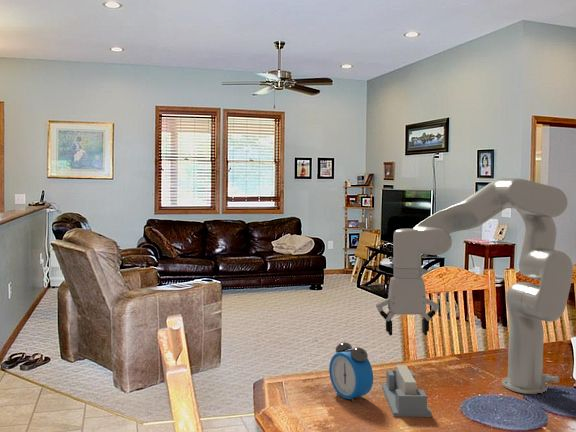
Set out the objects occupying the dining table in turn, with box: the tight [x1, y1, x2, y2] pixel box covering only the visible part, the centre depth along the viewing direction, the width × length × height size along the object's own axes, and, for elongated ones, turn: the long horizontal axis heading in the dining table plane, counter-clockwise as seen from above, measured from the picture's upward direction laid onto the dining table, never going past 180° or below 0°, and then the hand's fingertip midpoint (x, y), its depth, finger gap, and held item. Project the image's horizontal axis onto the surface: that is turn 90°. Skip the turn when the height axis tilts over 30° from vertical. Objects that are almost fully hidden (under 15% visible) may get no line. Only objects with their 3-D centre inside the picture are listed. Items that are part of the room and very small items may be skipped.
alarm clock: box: [328, 341, 374, 403], centre depth 158 cm, size 13×6×15 cm, turn 34°
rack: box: [381, 369, 433, 418], centre depth 155 cm, size 10×21×6 cm, turn 179°
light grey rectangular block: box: [395, 364, 417, 395], centre depth 155 cm, size 3×14×7 cm, turn 179°
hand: (407, 334), depth 154 cm, fingers open, 9 cm apart
